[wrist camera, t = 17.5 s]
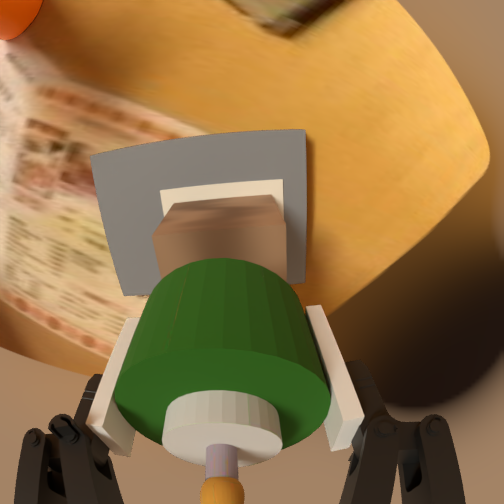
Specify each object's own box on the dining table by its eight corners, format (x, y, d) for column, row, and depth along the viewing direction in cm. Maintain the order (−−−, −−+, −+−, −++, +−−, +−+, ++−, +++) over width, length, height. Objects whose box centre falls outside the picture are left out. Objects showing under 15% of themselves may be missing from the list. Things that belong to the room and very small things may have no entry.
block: (188, 286, 26) (177, 336, 20) (173, 203, 23) (151, 236, 16) (274, 279, 26) (286, 328, 20) (271, 194, 23) (286, 224, 17)
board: (128, 287, 28) (123, 296, 26) (97, 153, 22) (89, 156, 20) (301, 274, 28) (305, 283, 27) (301, 129, 22) (305, 129, 21)
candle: (280, 233, 12) (363, 477, 3) (315, 358, 16) (360, 516, 7) (116, 286, 13) (30, 472, 4) (187, 388, 16) (175, 534, 7)
